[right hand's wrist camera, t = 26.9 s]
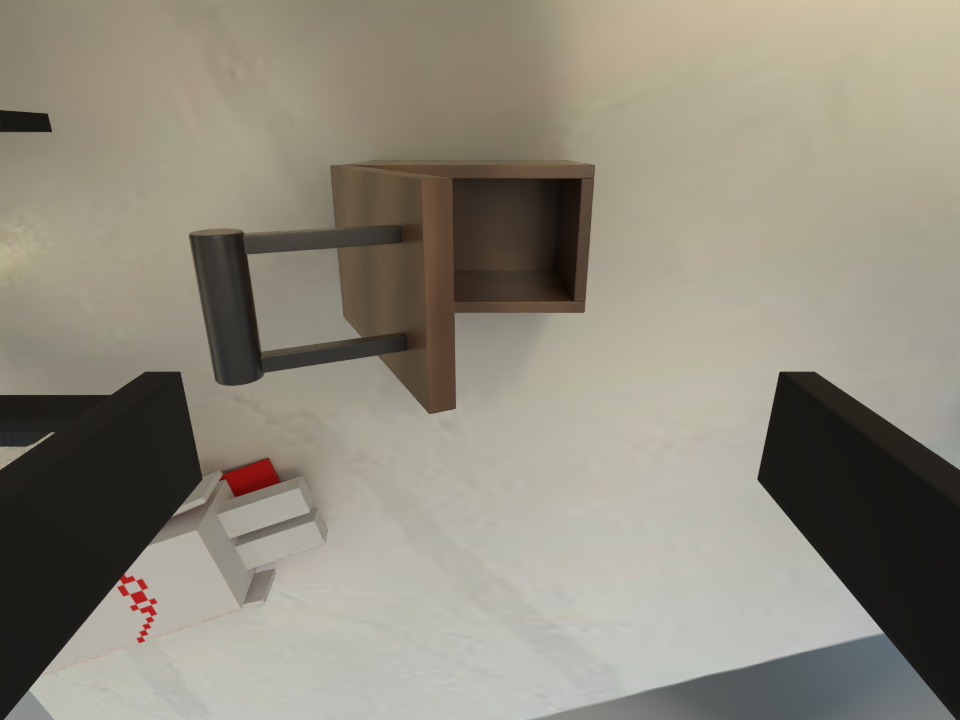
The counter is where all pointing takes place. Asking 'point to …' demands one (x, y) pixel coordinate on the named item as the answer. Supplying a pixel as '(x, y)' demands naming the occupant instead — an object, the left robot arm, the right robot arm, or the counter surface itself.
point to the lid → (350, 284)
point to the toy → (203, 561)
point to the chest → (515, 232)
